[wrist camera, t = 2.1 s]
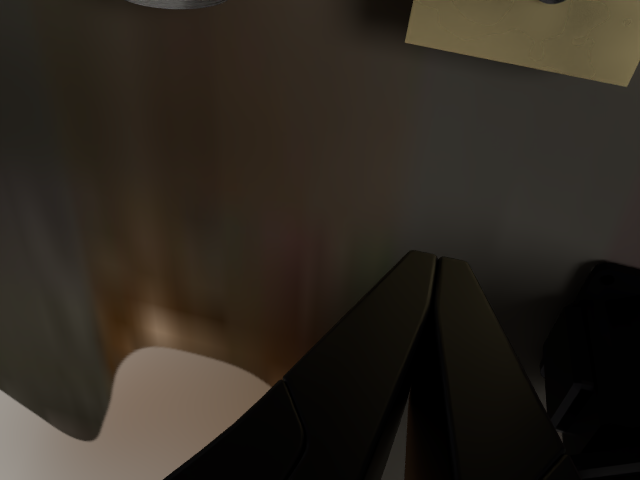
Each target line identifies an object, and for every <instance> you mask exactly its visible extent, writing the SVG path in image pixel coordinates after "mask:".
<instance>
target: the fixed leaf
mask: <svg viewBox="0 0 640 480" xmlns="http://www.w3.org/2000/svg"><path fill="white" fill-rule="evenodd" d="M126 1H128V2H131V3H135V4H139V5H143V6H149V7H156V8H166V9H195V8H204V7H210V6H215V5H218V4H221V3H223V2H225V1H227V0H126Z"/></svg>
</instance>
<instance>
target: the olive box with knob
mask: <svg viewBox="0 0 640 480" xmlns="http://www.w3.org/2000/svg"><path fill="white" fill-rule="evenodd" d="M405 43H410V44H415V45H420V46H425V47H430V48H435V49H440V50H445V51H450V52H455V53H460V54H465V55H470V56H475V57H480V58H485V59H490V60H495V61H500V62H505V63H510V64H515V65H520V66H525V67H530V68H535V69H540V70H545V71H550V72H555V73H560V74H565V75H570V76H575V77H580V78H585V79H590V80H595V81H600V82H605V83H610V84H615V85H620V86H625V87H627V86H628V84H629V82H630V79H631V77H632V75H633V73H634V71H635V69H636V67H637V65H638V63H639V61H640V0H413V5H412V10H411V15H410V20H409V25H408V29H407V34H406V39H405Z"/></svg>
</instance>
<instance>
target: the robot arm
mask: <svg viewBox="0 0 640 480" xmlns="http://www.w3.org/2000/svg"><path fill="white" fill-rule="evenodd" d="M604 275H611V277H610V278H607V279H604V278H601V277H602V276H604ZM540 373H541V375H542V376H543V377H544V378H545V388H546V404H547V412H546V410H545V408H544V407H543V405H542V403H541V401H540V399H539V397H538V395H537V393H536V391H535V389H534V387H533V386H532V384H531V382H530V380H529V378H528V376H527V374H526V372H525V370H524V368H523V367H522V365H521V363H520V361H519V359H518V357H517V355H516V353H515V351H514V349H513V348H512V346H511V344H510V342H509V340H508V338H507V336H506V334H505V332H504V330H503V328H502V327H501V325H500V323H499V321H498V319H497V317H496V315H495V313H494V311H493V309H492V308H491V306H490V304H489V302H488V300H487V298H486V296H485V294H484V292H483V290H482V289H481V287H480V285H479V283H478V281H477V279H476V277H475V275H474V273H473V271H472V269H471V268H470V266H469V264H468V263H467V262H465V261H462V260H458V259H453V258H448V257H440V258H439V259H438V258H437V256H436V255H434V254H430V253H425V252H420V251H416V250H411V251H409V252H408V253H407V254H406V255H405V256H404V257H403V258H402V259H401V260H400V261H399V262H398V263H397V264H396V265H395V266H394V267H393V268H392V269H391V270H390V271H389V272H388V273H387V274H386V275H385V276H384V277H383V278H382V279H381V280H380V281H379V282H378V283H377V284H376V285H375V286H374V287H373V288H372V289H371V290H370V291H369V292H368V293H367V294H366V295H365V296H364V297H363V298H362V299H361V300H360V301H359V302H358V303H357V304H356V305H355V306H354V307H353V308H352V309H351V310H350V311H348V312H347V313H346V314H345V315H344V316H343V317H342V318H341V319H340V320H339V321H338V322H337V323H336V324H335V325H334V326H333V327H332V328H331V329H330V330H329V331H328V332H327V333H326V334H325V335H324V336H323V337H322V338H321V339H320V340H319V341H318V342H317V343H316V344H315V345H314V346H313V347H312V348H311V349H310V350H309V351H308V352H307V353H306V354H305V355H304V356H303V357H302V358H301V359H300V360H299V361H298V362H297V363H296V364H295V365H294V366H293V367H292V368H291V369H290V370H289V371H288V372H287V373H286V374H285V375H284V376H283V380H279V381H278V382H277V383H276V384H275V385H274V386H273V387H272V388H271V389H270V390H269V391H268V392H267V393H266V394H265V395H264V396H263V397H262V398H261V399H260V400H259V401H258V402H257V403H255V404H254V405H253V406H252V407H251V408H250V409H249V410H248V411H247V412H246V413H245V414H243V415H242V416H241V417H240V418H239V419H238V420H237V421H236V422H235V423H234V424H233V425H232V426H230V427H229V428H228V429H226V430H225V431H224V432H223V433H221V434H220V435H219V436H218V437H217V438H215V439H214V440H213V441H212V442H210V443H209V444H208V445H207V446H205V447H204V448H203V449H202V450H201V451H199V452H198V453H197V454H195V455H194V456H193V457H192V458H190V459H189V460H188V461H186V462H185V463H184V464H183V465H181V466H180V467H179V468H177V469H176V470H175V471H173V472H172V473H171V474H169V475H168V476H167V477H166V478H164V479H163V480H381V478H382V475H383V472H384V469H385V466H386V463H387V460H388V457H389V454H390V451H391V448H392V445H393V442H394V439H395V436H396V433H397V430H398V427H399V424H400V421H401V418H402V415H403V412H404V409H405V405H406V402H407V399H408V395H409V391H410V395H409V404H408V417H407V434H406V452H405V470H404V480H640V270H636V269H632V268H628V267H624V266H620V265H615V264H611V263H603V264H599V265H597V266H595V267H594V268H593V270H592V271H591V273H590V275H589V276H588V278H587V280H586V282H585V284H584V285H583V287H582V289H581V291H580V293H579V294H578V296H577V298H576V300H575V301H574V303H573V304H569V305H568V306H566V307H564V309H563V311H562V312H561V314H560V316H559V318H558V320H557V322H556V323H555V325H554V327H553V329H552V331H551V333H550V334H549V336H548V338H547V340H546V342H545V344H544V346H543V359H542V361H541V363H540ZM410 387H411V389H410ZM557 431H558V432H561V433H562V439H563V443H562V441H561V439H560V437H559V435H558V433H557Z"/></svg>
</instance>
